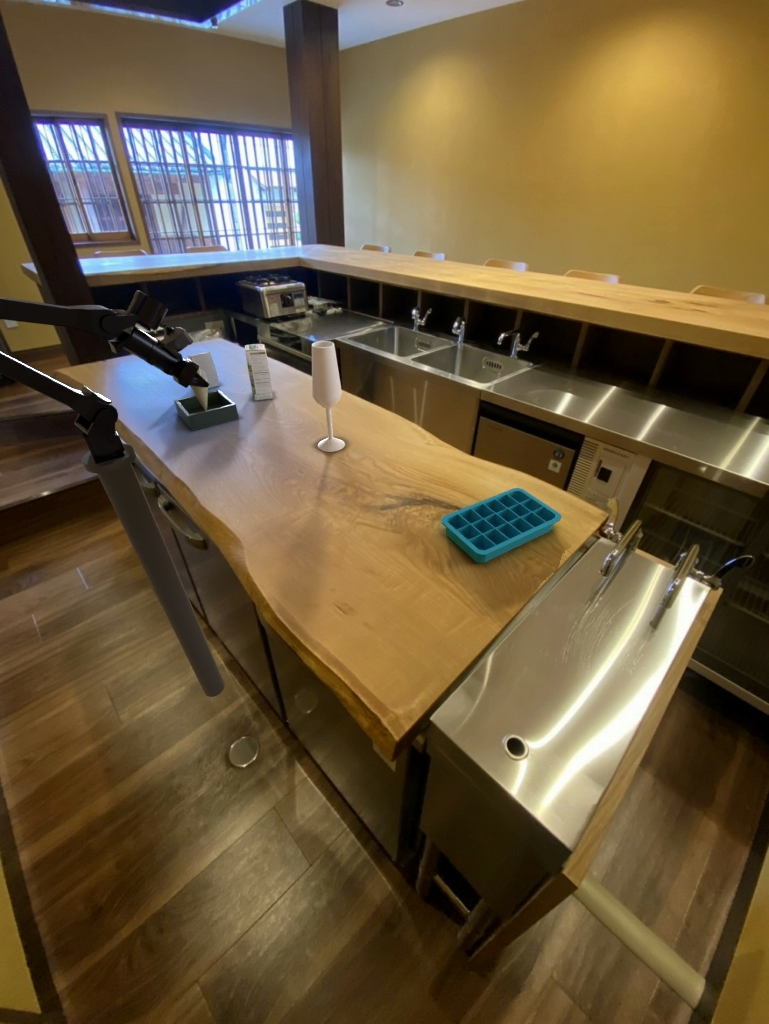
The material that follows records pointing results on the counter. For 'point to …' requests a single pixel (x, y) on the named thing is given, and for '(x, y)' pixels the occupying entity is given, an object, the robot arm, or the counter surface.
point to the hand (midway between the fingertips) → (204, 382)
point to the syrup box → (258, 371)
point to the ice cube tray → (499, 524)
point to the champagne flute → (326, 387)
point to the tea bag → (207, 367)
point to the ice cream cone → (201, 389)
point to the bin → (216, 413)
